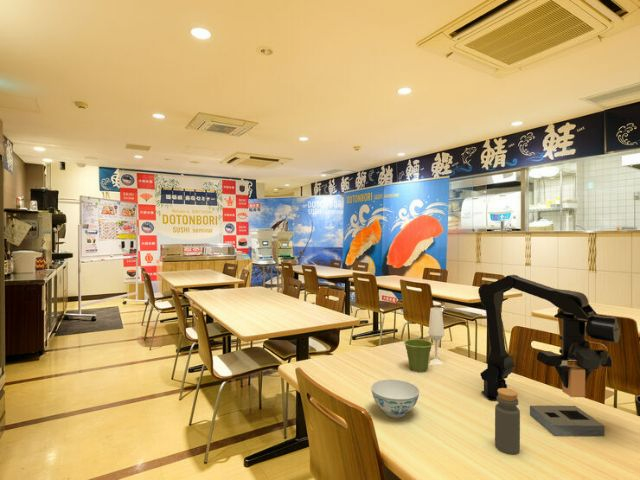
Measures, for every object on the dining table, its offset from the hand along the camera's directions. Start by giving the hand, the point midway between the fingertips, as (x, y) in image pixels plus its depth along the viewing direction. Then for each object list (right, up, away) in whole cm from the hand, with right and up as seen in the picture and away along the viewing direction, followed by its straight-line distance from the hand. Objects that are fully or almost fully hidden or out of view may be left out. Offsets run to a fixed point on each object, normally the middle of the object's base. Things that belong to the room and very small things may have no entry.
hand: (573, 387), depth 107 cm
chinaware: (-51, -12, +8) cm, 53 cm away
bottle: (-26, -12, -12) cm, 30 cm away
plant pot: (-34, -11, +46) cm, 58 cm away
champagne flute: (-24, -11, +53) cm, 59 cm away
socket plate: (-3, -11, 0) cm, 11 cm away
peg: (0, -2, 0) cm, 2 cm away
